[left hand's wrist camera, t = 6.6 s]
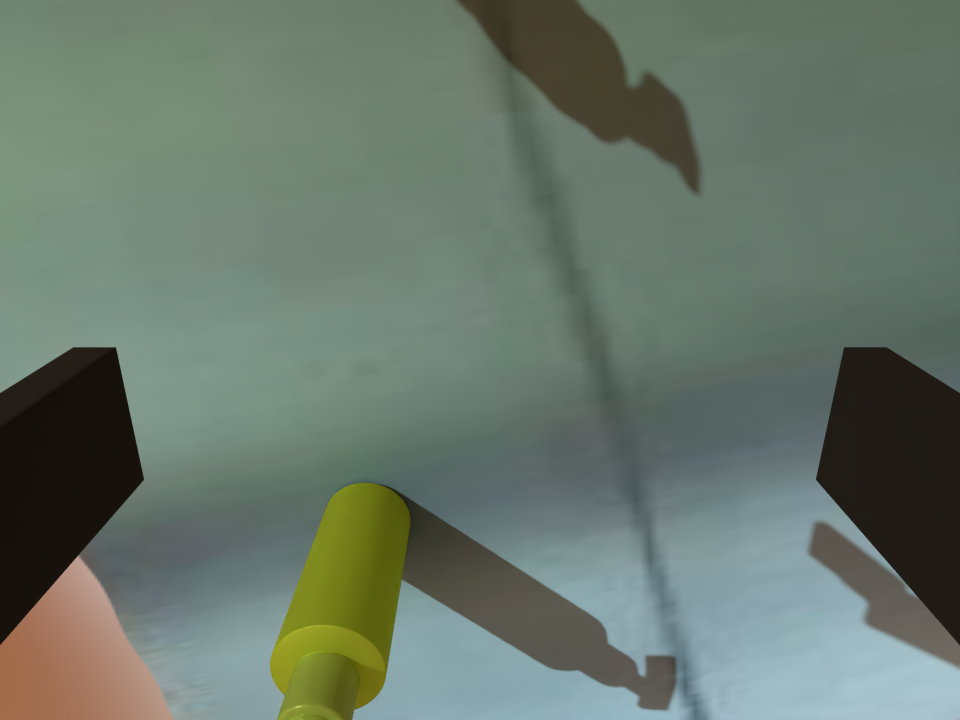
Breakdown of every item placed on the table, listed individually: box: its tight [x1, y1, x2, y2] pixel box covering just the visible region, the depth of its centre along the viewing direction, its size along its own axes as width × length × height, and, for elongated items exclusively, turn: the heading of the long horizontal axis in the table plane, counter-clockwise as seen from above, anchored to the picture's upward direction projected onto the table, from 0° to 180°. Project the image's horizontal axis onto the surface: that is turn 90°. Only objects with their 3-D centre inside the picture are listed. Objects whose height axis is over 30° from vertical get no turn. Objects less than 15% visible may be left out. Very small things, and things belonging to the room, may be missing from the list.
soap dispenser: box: [270, 483, 411, 720], centre depth 37 cm, size 6×7×20 cm
